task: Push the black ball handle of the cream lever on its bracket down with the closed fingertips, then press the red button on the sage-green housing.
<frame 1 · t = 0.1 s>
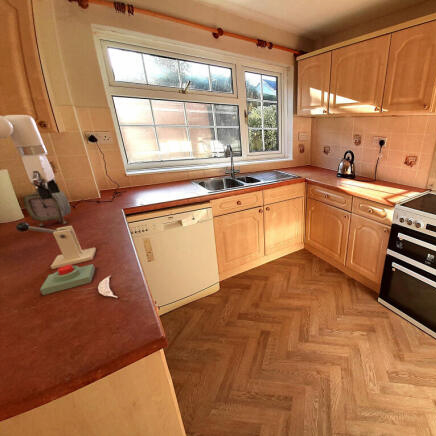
hand: (51, 195, 96), 23 cm above the countertop, tool pointing down, fingers open, 9 cm apart
button: (65, 270, 80), point 4 cm above the countertop, slide at 0.1 cm
tabletop clock: (57, 223, 130), on the countertop
pea pod: (107, 290, 77), on the countertop
button box: (71, 281, 81), on the countertop
lever: (44, 230, 88), point 14 cm above the countertop, hinge at 28.0°
bracket: (75, 258, 95), on the countertop
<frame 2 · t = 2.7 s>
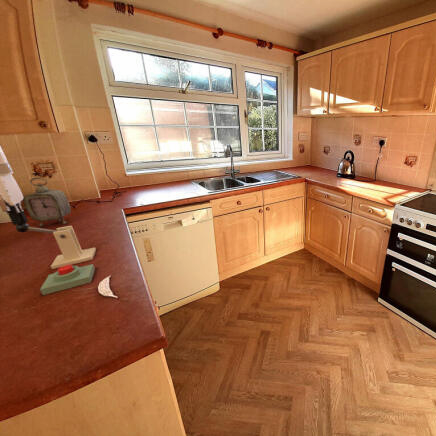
hand: (21, 223, 84), 18 cm above the countertop, tool pointing down, fingers closed
lever: (44, 230, 88), point 13 cm above the countertop, hinge at 26.4°, touching gripper
everything else where it was.
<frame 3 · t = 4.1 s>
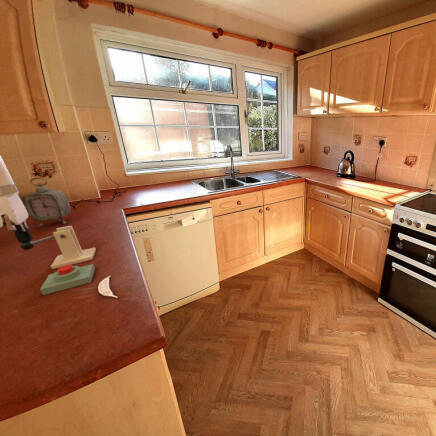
hand: (26, 240, 86), 11 cm above the countertop, tool pointing down, fingers closed
lever: (46, 239, 89), point 10 cm above the countertop, hinge at -8.9°, touching gripper
everything else where it was.
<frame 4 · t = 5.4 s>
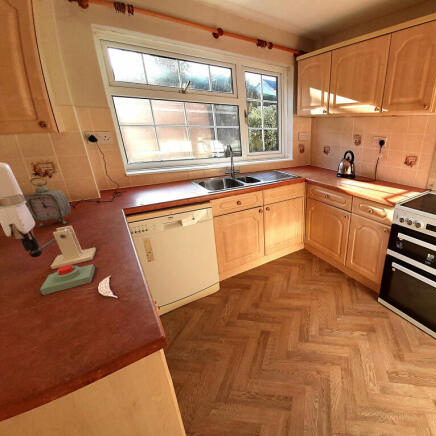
hand: (33, 248, 88), 7 cm above the countertop, tool pointing down, fingers closed
lever: (50, 243, 90), point 8 cm above the countertop, hinge at -27.9°, touching gripper
everything else where it was.
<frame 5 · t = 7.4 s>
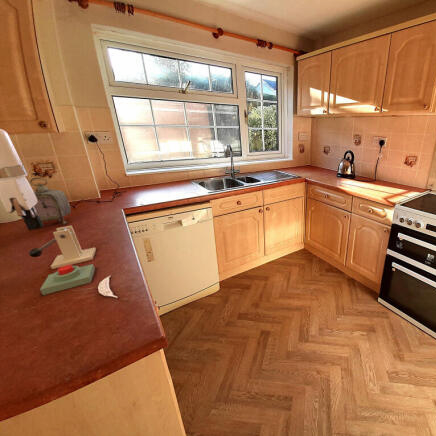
hand: (36, 228, 79), 17 cm above the countertop, tool pointing down, fingers closed
lever: (50, 243, 90), point 8 cm above the countertop, hinge at -27.9°
everything else where it was.
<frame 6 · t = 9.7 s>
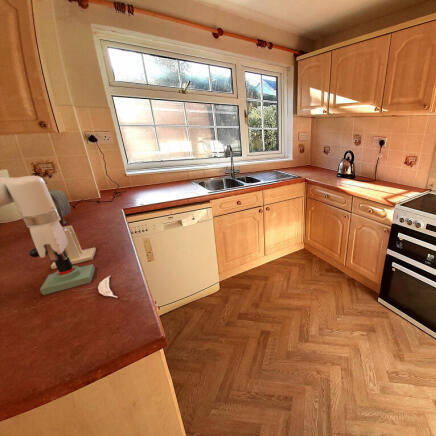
hand: (66, 269, 80), 5 cm above the countertop, tool pointing down, fingers closed
button: (66, 272, 80), point 4 cm above the countertop, slide at -0.7 cm, touching gripper
everything else where it was.
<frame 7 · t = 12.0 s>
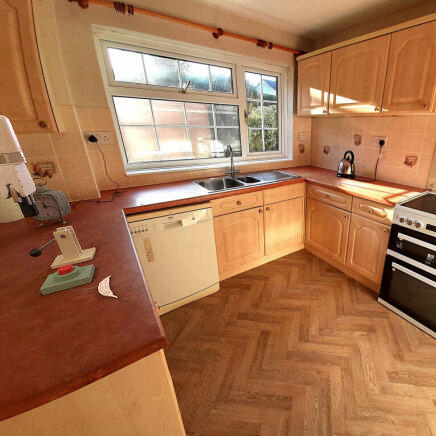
hand: (32, 215, 80), 21 cm above the countertop, tool pointing down, fingers closed
button: (65, 270, 80), point 4 cm above the countertop, slide at 0.1 cm
everything else where it was.
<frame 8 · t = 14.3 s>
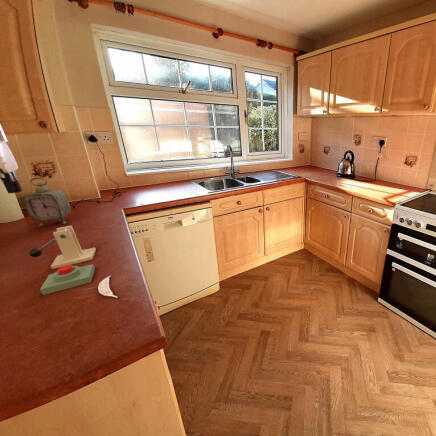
hand: (15, 192, 86), 27 cm above the countertop, tool pointing down, fingers closed
nothing on the countertop moved.
at the end: lever at -28° (first picture: +28°); button pushed in 1.1 cm at the most during the clip, back to where it started at the end; button slide at 0.1 cm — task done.
